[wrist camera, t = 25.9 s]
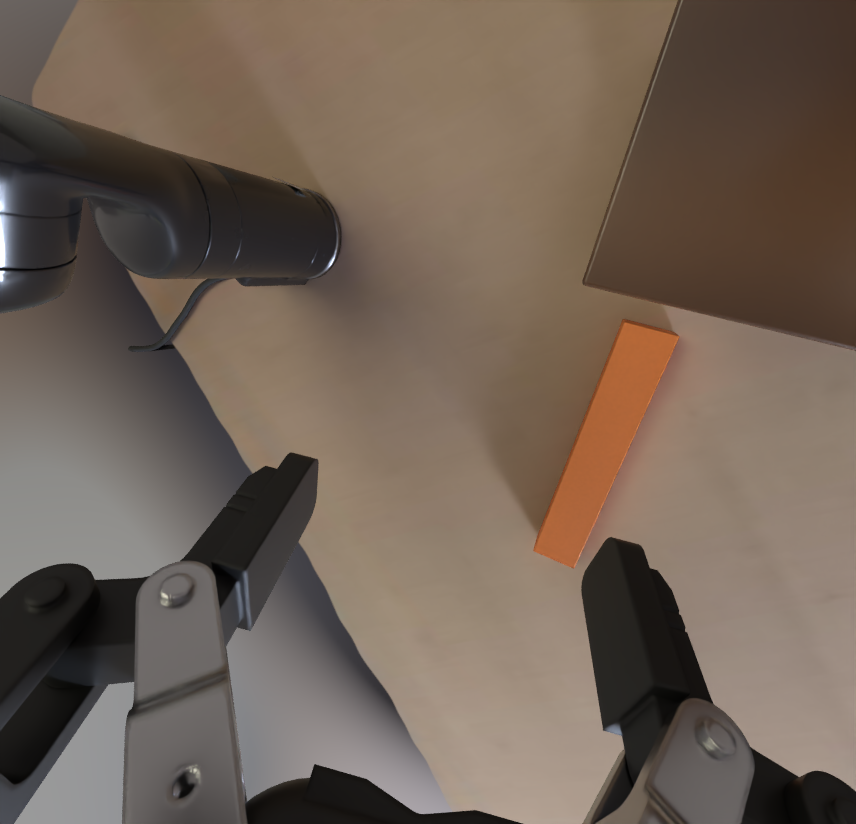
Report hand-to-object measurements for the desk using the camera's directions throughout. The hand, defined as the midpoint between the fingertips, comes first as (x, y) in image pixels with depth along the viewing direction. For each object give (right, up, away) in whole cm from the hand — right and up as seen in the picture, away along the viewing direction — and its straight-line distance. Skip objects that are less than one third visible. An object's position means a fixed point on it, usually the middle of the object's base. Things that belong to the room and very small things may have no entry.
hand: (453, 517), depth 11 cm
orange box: (+16, -1, +31) cm, 35 cm away
